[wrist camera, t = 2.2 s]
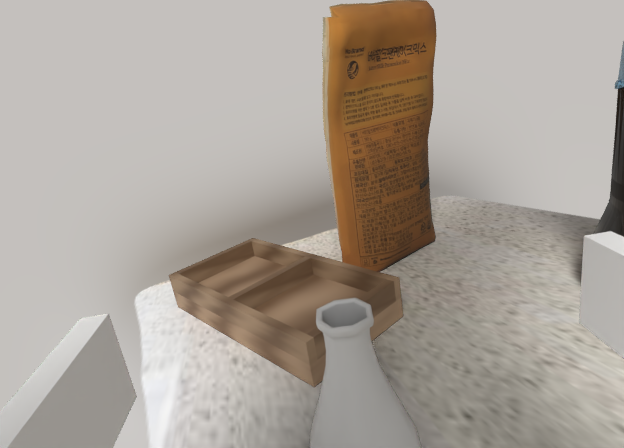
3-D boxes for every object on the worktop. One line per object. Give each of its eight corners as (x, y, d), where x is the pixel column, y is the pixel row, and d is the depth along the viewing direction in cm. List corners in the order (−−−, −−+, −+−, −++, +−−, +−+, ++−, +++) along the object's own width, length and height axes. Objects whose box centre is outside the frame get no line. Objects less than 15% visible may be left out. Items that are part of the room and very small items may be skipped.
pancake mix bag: (466, 232, 56) (456, -7, 47) (362, 292, 45) (323, -2, 36) (423, 224, 61) (407, 6, 52) (321, 276, 51) (278, 15, 42)
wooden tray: (178, 306, 49) (168, 275, 48) (258, 266, 56) (252, 237, 55) (314, 387, 33) (305, 342, 32) (403, 316, 40) (399, 277, 39)
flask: (391, 396, 31) (376, 270, 28) (450, 479, 24) (439, 325, 21) (294, 431, 29) (266, 301, 26) (328, 530, 23) (296, 372, 19)
